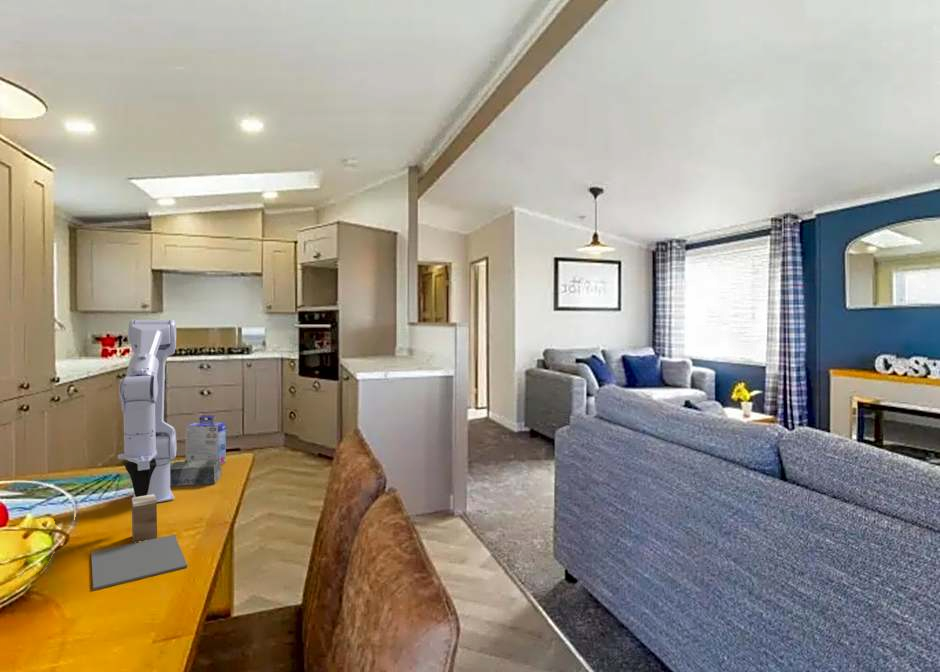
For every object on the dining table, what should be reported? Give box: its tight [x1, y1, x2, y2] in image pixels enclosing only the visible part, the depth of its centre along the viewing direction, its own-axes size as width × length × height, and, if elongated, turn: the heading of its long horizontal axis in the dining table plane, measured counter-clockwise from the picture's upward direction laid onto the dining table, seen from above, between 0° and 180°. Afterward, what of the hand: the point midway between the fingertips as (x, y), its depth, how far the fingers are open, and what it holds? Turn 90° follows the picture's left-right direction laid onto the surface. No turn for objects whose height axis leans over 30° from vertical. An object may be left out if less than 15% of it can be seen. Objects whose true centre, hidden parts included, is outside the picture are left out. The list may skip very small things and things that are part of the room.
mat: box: [90, 534, 188, 591], centre depth 100 cm, size 16×14×1 cm
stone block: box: [170, 459, 223, 487], centre depth 145 cm, size 9×14×5 cm, turn 100°
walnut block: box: [131, 494, 158, 543], centre depth 110 cm, size 4×4×8 cm
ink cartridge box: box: [185, 414, 227, 465], centre depth 160 cm, size 10×6×14 cm, turn 91°
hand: (141, 495), depth 115 cm, fingers closed
